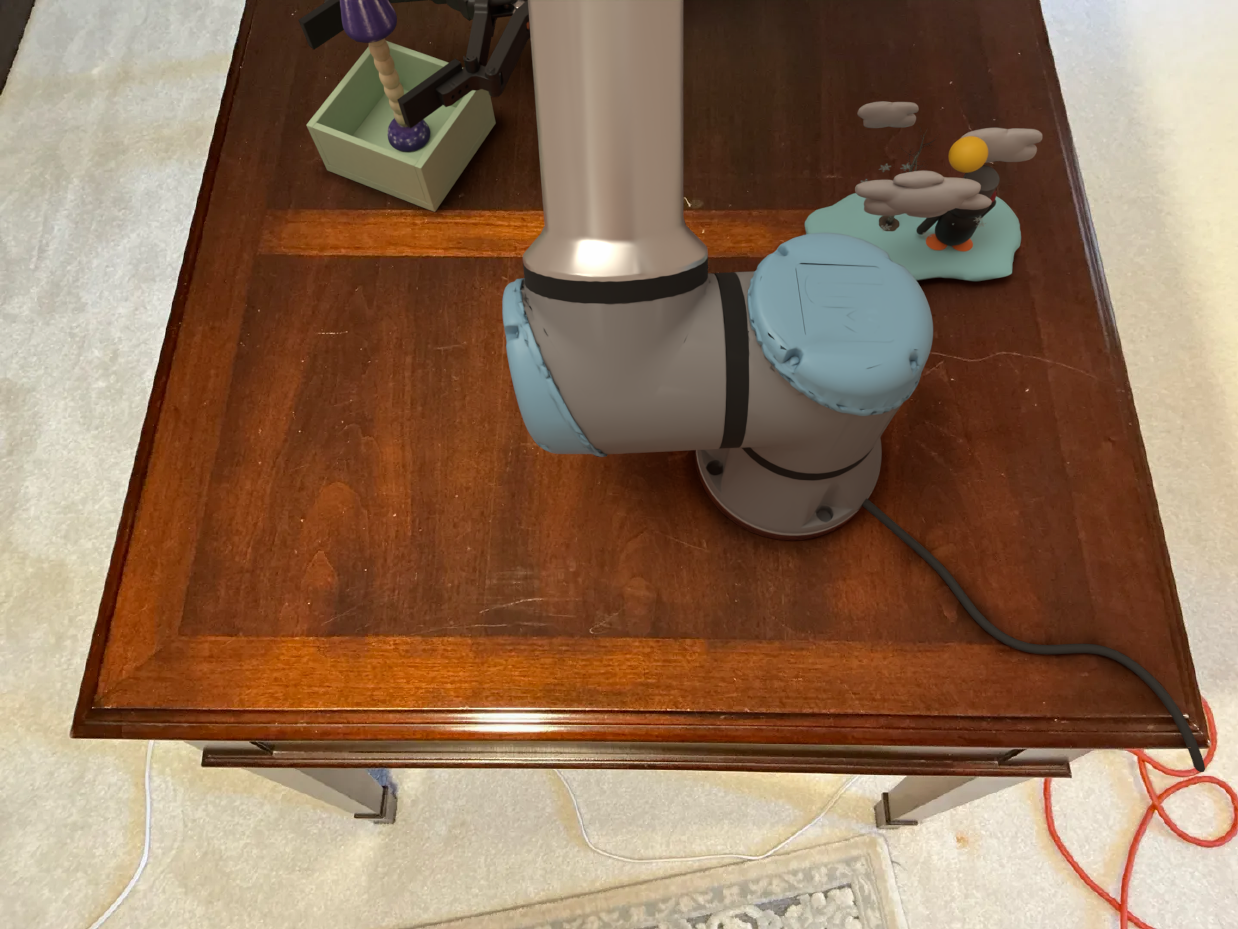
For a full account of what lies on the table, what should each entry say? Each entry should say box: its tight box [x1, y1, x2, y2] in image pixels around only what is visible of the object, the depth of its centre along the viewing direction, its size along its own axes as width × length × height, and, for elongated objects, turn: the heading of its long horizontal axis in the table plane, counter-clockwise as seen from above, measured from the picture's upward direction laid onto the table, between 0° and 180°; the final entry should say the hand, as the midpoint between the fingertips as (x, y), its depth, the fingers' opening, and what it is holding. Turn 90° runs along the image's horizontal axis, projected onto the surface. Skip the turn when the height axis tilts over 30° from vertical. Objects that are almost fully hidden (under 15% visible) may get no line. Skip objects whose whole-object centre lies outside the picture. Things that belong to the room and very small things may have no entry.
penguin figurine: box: [804, 100, 1043, 282], centre depth 73 cm, size 20×11×15 cm, turn 90°
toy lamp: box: [340, 0, 430, 152], centre depth 77 cm, size 5×5×17 cm
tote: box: [306, 40, 497, 213], centre depth 83 cm, size 12×12×6 cm
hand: (353, 73), depth 74 cm, fingers open, 13 cm apart
